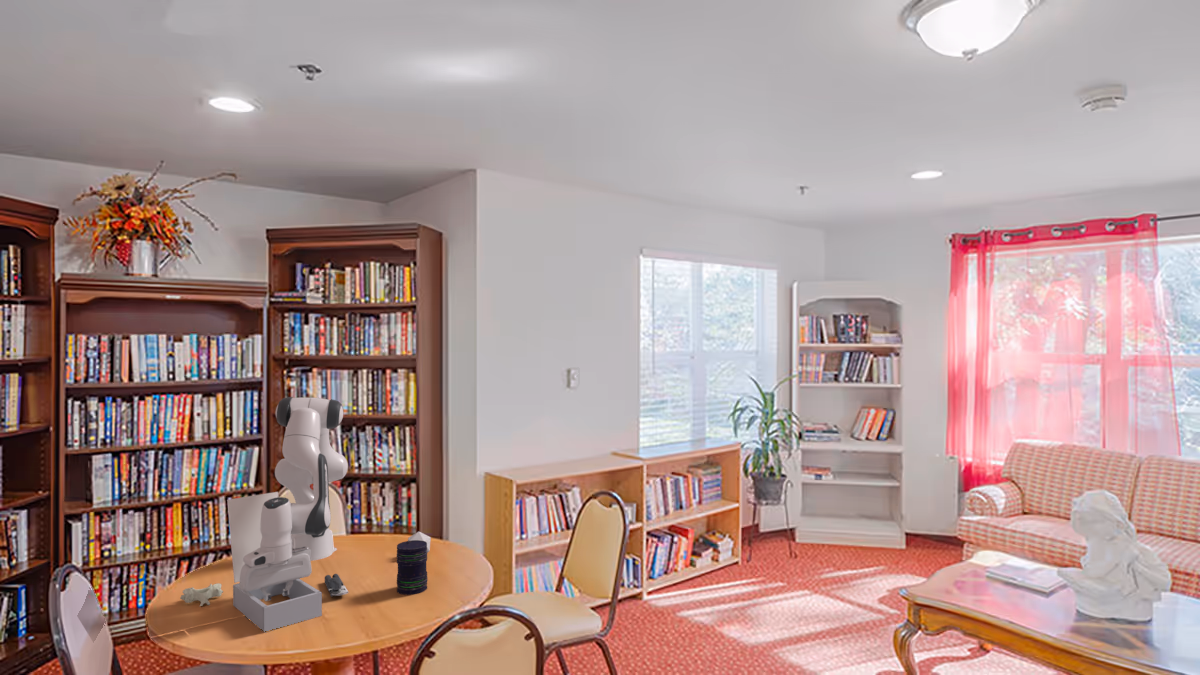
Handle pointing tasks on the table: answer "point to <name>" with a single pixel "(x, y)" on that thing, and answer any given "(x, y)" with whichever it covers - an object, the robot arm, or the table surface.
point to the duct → (279, 605)
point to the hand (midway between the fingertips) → (276, 597)
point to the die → (421, 539)
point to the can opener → (335, 585)
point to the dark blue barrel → (412, 567)
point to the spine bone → (202, 594)
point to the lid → (245, 527)
